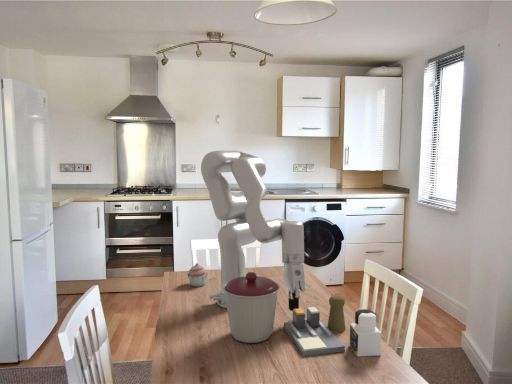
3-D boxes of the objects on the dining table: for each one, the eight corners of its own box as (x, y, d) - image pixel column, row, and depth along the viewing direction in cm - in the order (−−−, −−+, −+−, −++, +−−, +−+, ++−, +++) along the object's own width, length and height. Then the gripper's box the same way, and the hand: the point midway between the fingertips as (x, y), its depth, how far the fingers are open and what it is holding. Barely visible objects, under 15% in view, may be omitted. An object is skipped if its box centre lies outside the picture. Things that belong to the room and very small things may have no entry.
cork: (345, 332, 132) (346, 300, 131) (327, 331, 133) (327, 299, 132) (345, 325, 138) (346, 294, 137) (327, 323, 139) (327, 292, 138)
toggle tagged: (296, 328, 131) (296, 313, 131) (292, 323, 135) (292, 308, 135) (305, 327, 132) (305, 312, 132) (301, 322, 136) (301, 308, 135)
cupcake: (184, 283, 182) (184, 261, 181) (204, 280, 186) (204, 259, 185) (190, 289, 174) (189, 267, 173) (210, 286, 178) (210, 264, 177)
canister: (216, 329, 135) (215, 267, 133) (266, 320, 142) (266, 262, 140) (234, 354, 119) (233, 284, 117) (289, 343, 125) (289, 277, 123)
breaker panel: (303, 356, 118) (303, 348, 117) (283, 326, 137) (283, 320, 137) (344, 351, 120) (344, 343, 120) (319, 323, 140) (319, 316, 140)
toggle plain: (310, 327, 133) (310, 312, 132) (306, 322, 136) (306, 307, 136) (319, 326, 133) (319, 311, 133) (315, 321, 137) (315, 306, 137)
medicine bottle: (349, 345, 124) (350, 307, 123) (371, 344, 125) (373, 306, 123) (357, 357, 117) (358, 317, 116) (380, 356, 117) (382, 316, 116)
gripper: (311, 262, 132) (311, 316, 133) (296, 251, 146) (297, 301, 148) (289, 264, 130) (289, 319, 132) (276, 253, 145) (277, 303, 146)
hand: (293, 309), depth 140 cm, fingers closed
